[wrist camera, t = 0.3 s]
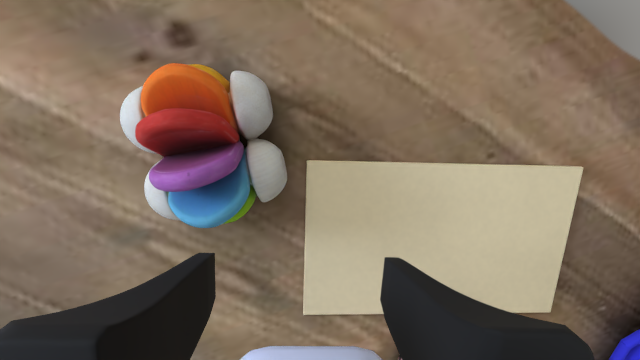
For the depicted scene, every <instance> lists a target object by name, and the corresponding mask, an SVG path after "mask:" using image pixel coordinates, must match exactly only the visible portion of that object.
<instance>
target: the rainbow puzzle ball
mask: <svg viewBox="0 0 640 360" xmlns="http://www.w3.org/2000/svg"><path fill="white" fill-rule="evenodd" d="M272 118H273V109H272V103H271V98H270V94H269V90H268V88H267V86H266V84H265V83H264V82H263V81H262V80H261V79H260V78H258V77H257V76H255V75H253V74H251V73H249V72H245V71H233V72H232V73H231V77H230V83H229V81H228V80H226V79H225V78H224V77H223V76H222V75H221V74H219V73H218V72H217V71H215V70H214V69H212V68H210V67H207V66H204V65H199V64H191V65H185V64H177V63H171V64H167V65H165V66H162V67H160V68H159V69H157V70H156V71H154V72H153V73H152V74H151V75H150V76H149V77H148V79H147V80H146V82H145V83H144V85H143V86H142V87H140V88H137V89H136V90H134V91H133V92H131V93H130V94H129V95H128V96H127V98H126V99H125V100H124V102H123V104H122V107H121V111H120V122H121V126H122V129H123V131H124V133H125V135H126V136H127V138H128V139H129V140H130V141H131V142H132V143H133V144H135V145H136V146H137V147H139V148H140V149H142V150H144V151H147V152H150V153H155V154H160V155H162V156H163V157H164V158H163V159H162V160H160V161H159V162H157V163H156V164H155V165H154V166H153V167H152V168H151V169H150V171H149V173H148V174H147V177H146V180H145V185H144V191H145V196H146V199H147V201H148V203H149V205H150V206H151V207H152V209H153V210H154V211H156V212H157V213H158V214H160V215H161V216H163V217H165V218H168V219H173V220H181V221H183V222H184V223H186V224H188V225H191V226H194V227H198V228H212V227H216V226H219V225H221V224H225V223H230V222H233V221H236V220H238V219H240V218H241V217H242V216H244V215H245V214H246V213H247V212H248V211H249V209H250V208H251V206H252V205H253V203H254V201H255V198H256V197H257V196H258V197H259V199H260V200H261V201H262V202H267V201H269V200H271V199H273V198H275V197H276V196H277V195H278V194H279V193H280V192H281V191H282V190H283V188H284V186H285V184H286V182H287V171H286V166H285V161H284V157H283V154H282V152H281V150H280V149H279V148H278V147H277V146H275V145H274V144H272V143H271V142H269V141H266V140H263V139H258V138H257V137H258V136H259V135H261V134H262V133H263V132H264V131H265V130H266V129H267V128H268V126H269V125H270V123H271V121H272ZM239 134H241V135H242V136H244V137H245V138H246V139H247V140H248V142H247V144H248V145H247V147H246V148H244V147H243V144H242V143H241V142H240V141H239Z"/></svg>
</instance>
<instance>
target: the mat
mask: <svg viewBox="0 0 640 360" xmlns="http://www.w3.org/2000/svg"><path fill="white" fill-rule="evenodd" d="M582 172H583V167H580V166H546V165H502V164H457V163H413V162H369V161H325V160H307V171H306V213H305V254H304V296H303V315H333V314H384V313H383V309H382V305H381V301H380V296H381V287H382V278H383V268H384V259H385V257H399V258H401V259H403V260H405V261H406V262H408V263H410V264H411V265H413V266H414V267H416V268H418V269H419V270H421V271H422V272H424V273H425V274H427V275H429V276H430V277H432V278H434V279H435V280H437V281H439V282H440V283H442V284H444V285H446V286H448V287H449V288H451V289H453V290H455V291H457V292H459V293H461V294H463V295H466V296H468V297H470V298H472V299H475V300H477V301H480V302H482V303H485V304H487V305H490V306H493V307H496V308H498V309H502V310H505V311H508V312H511V313H547V312H551V307H552V303H553V299H554V294H555V290H556V285H557V281H558V277H559V272H560V268H561V264H562V259H563V255H564V251H565V246H566V242H567V237H568V233H569V229H570V224H571V220H572V216H573V211H574V207H575V203H576V198H577V194H578V189H579V185H580V181H581V176H582Z"/></svg>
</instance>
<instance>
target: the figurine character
mask: <svg viewBox="0 0 640 360" xmlns="http://www.w3.org/2000/svg"><path fill="white" fill-rule="evenodd" d="M609 360H640V329H639V330H637V331H635V332H633V333H632V334H630V335H628V336H627V337H625V338H623V339H622V340H620V342H619V343H618V345H617V347H616V348H615V350H614V352H613V353H612V355H611V356H610V358H609Z"/></svg>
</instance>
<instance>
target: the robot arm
mask: <svg viewBox="0 0 640 360" xmlns="http://www.w3.org/2000/svg"><path fill="white" fill-rule="evenodd" d="M214 301H215V253H198V254H196V255H194V256H192V257H190V258H189V259H187V260H185V261H184V262H182V263H180V264H178V265H177V266H175V267H173V268H172V269H170V270H168V271H166V272H164V273H163V274H161V275H159V276H157V277H155V278H153V279H151V280H149V281H147V282H145V283H143V284H141V285H139V286H137V287H135V288H132V289H130V290H127V291H125V292H123V293H120V294H117V295H115V296H112V297H109V298H106V299H103V300H100V301H97V302H94V303H91V304H87V305H84V306H80V307H77V308H73V309H69V310H65V311H60V312H56V313H52V314H46V315H41V316H36V317H30V318H25V319H20V320H13V321H11V322H10V323H8V324H7V325H6V326H4V327H3V328H2V329H0V360H190V358H191V356H192V354H193V352H194V350H195V348H196V346H197V343H198V341H199V339H200V337H201V335H202V333H203V331H204V328H205V326H206V324H207V322H208V320H209V317H210V314H211V311H212V307H213V304H214ZM380 301H381V305H382V309H383V313H384V317H385V320H386V323H387V325H388V328H389V330H390V333H391V335H392V337H393V340H394V342H395V344H396V347H397V349H398V351H399V354H400V356H401V359H402V360H594V357H593V353H592V351H591V349H590V348H589V346H588V345H587V344H586V343H585V342H584V341H583V340H582V339H580V338H579V337H578V336H577V335H576V334H575V333H573V332H572V331H571V330H570V329H569V328H568V327H566V326H565V325H562V324H557V323H552V322H547V321H543V320H538V319H533V318H529V317H525V316H522V315H518V314H515V313H511V312H508V311H505V310H502V309H498V308H496V307H493V306H490V305H487V304H485V303H482V302H480V301H477V300H475V299H472V298H470V297H468V296H466V295H463V294H461V293H459V292H457V291H455V290H453V289H451V288H449V287H448V286H446V285H444V284H442V283H440V282H439V281H437V280H435V279H434V278H432V277H430V276H429V275H427V274H425V273H424V272H422V271H421V270H419V269H418V268H416V267H414V266H413V265H411V264H410V263H408V262H406V261H405V260H403V259H401V258H399V257H385V259H384V268H383V278H382V287H381V296H380ZM240 360H382V359H381V358H380V357H379V356H378V355H377V354H376V353H375V352H374V351H372V350H368V349H364V348H359V347H355V346H269V347H264V348H260V349H255V350H251V351H249V352H248V353H247V354H246V355H245V356H244V357H242V358H241V359H240Z"/></svg>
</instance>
